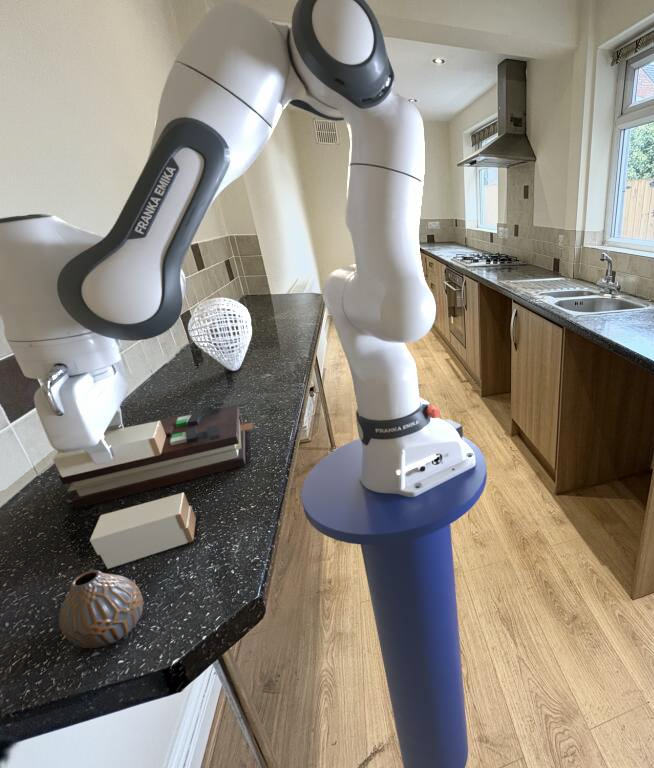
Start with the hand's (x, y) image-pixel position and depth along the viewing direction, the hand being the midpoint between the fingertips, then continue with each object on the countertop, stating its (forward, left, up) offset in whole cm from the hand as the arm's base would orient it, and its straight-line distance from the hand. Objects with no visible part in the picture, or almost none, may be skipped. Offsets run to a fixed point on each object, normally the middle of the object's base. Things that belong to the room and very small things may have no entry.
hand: (111, 448), depth 57 cm
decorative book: (0, -26, -17) cm, 31 cm away
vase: (+2, +16, -17) cm, 24 cm away
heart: (-11, -82, -17) cm, 84 cm away
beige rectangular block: (0, 0, -17) cm, 17 cm away
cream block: (0, 0, -1) cm, 1 cm away
